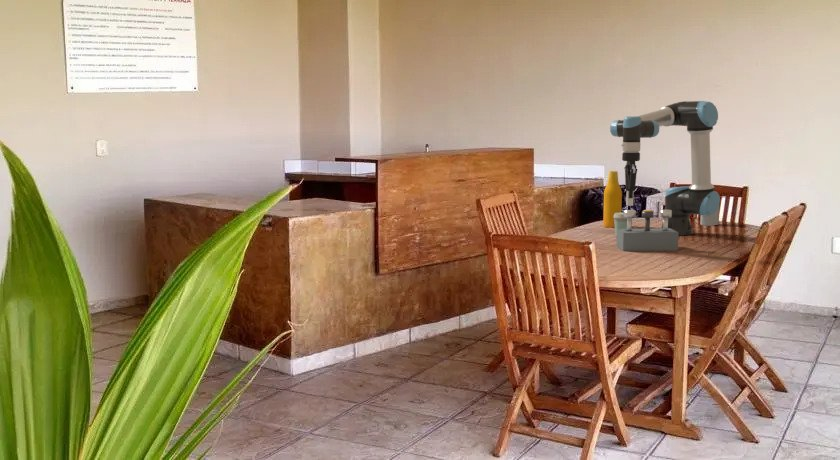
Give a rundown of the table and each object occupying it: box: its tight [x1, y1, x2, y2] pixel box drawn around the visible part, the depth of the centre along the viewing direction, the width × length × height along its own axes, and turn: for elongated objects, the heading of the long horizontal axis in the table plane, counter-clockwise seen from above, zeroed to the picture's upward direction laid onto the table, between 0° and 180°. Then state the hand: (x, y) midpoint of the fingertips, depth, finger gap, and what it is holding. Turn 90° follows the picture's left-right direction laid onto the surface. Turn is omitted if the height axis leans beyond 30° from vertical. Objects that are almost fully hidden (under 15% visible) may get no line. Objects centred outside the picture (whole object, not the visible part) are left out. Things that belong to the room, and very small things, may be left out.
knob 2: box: [659, 209, 672, 231], centre depth 386 cm, size 5×5×12 cm
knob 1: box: [623, 209, 637, 231], centre depth 386 cm, size 5×5×12 cm
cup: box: [699, 206, 720, 227], centre depth 458 cm, size 9×9×12 cm
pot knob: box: [641, 209, 655, 231], centre depth 386 cm, size 5×5×12 cm
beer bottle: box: [602, 170, 623, 229], centre depth 454 cm, size 9×9×29 cm
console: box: [616, 227, 679, 252], centre depth 387 cm, size 24×12×8 cm, turn 90°
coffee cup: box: [614, 211, 627, 239], centre depth 416 cm, size 8×8×12 cm
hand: (629, 205), depth 385 cm, fingers closed
